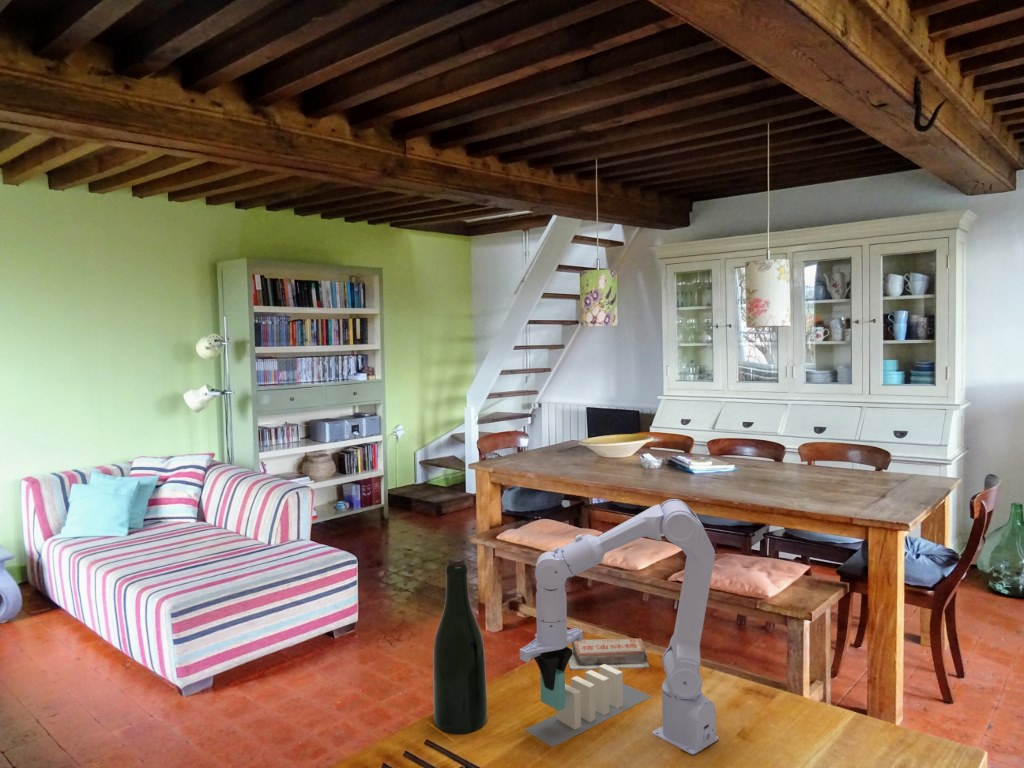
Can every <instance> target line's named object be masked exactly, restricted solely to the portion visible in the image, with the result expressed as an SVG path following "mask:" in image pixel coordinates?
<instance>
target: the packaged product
mask: <svg viewBox="0 0 1024 768" xmlns="http://www.w3.org/2000/svg"><path fill="white" fill-rule="evenodd" d="M571 645H572V646H571V647H569V648H570V649H572V656H571V658H570V659H569V661H568V663H567V664H568V666H569V670H570V671H574V670H575V671H577V670H578V671H581V670H582V671H585V670H586V671H587V670H588V671H589V670H599V666H601V665H603V664H606V665H608V666H610V667H612V668H615V669H617V670H619V669H620V670H621V669H649V668H650V665H649V663H648V653H647V649H646V647H645V646H644V641H643V640H642V638H637V637H636V638H633V637H631V638H595V639H593V638H592V639H583V640H582V641H575V642H572V643H571Z"/></svg>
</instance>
